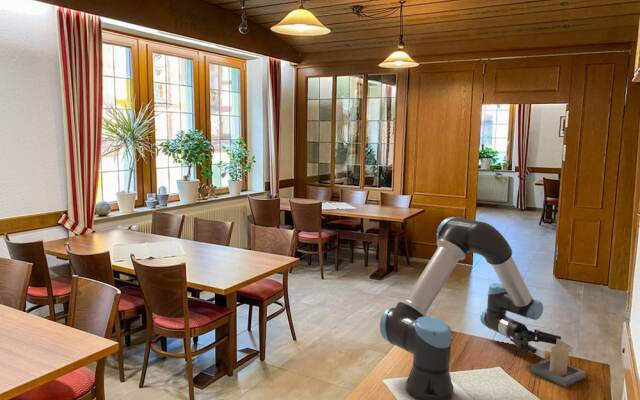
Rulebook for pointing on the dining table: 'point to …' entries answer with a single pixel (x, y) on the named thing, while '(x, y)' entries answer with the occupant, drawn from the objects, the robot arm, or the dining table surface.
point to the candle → (559, 360)
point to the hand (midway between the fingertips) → (558, 351)
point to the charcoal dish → (564, 381)
